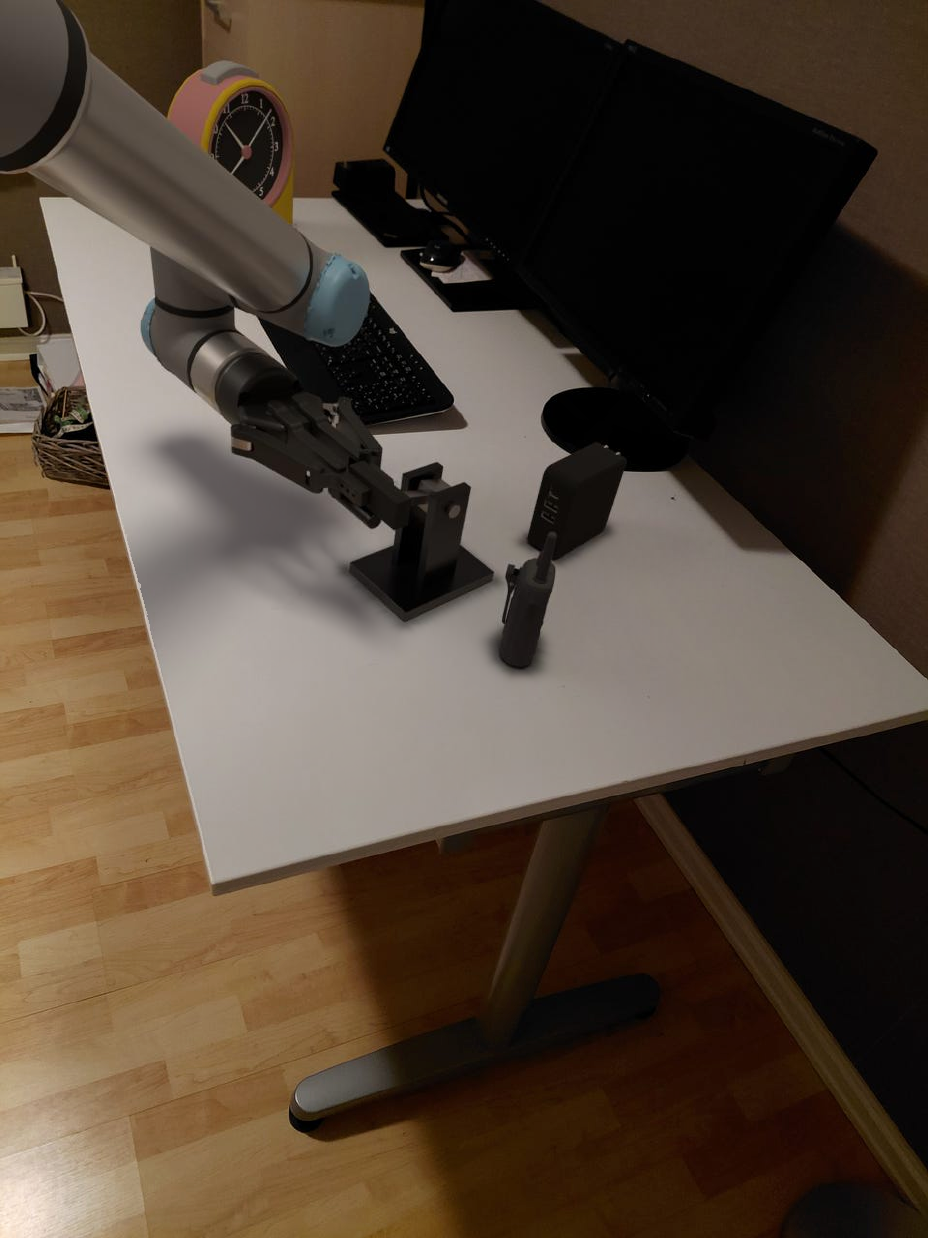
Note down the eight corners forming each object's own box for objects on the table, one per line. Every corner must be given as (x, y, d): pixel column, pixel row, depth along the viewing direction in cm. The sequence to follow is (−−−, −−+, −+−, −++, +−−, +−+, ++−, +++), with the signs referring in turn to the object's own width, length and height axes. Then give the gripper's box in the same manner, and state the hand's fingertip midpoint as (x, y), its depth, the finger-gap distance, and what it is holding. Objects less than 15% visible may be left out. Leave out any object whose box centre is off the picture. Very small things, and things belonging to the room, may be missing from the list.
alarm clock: (208, 258, 140) (200, 73, 123) (169, 240, 143) (156, 58, 126) (294, 234, 154) (297, 66, 137) (257, 219, 157) (255, 52, 140)
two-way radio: (530, 674, 79) (567, 548, 69) (484, 663, 79) (515, 535, 69) (536, 635, 83) (572, 511, 73) (492, 625, 83) (523, 499, 74)
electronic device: (525, 542, 95) (544, 466, 88) (577, 512, 101) (599, 439, 94) (553, 561, 93) (575, 485, 86) (605, 530, 99) (629, 456, 92)
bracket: (404, 622, 82) (418, 523, 74) (348, 571, 86) (357, 473, 78) (492, 580, 89) (514, 486, 81) (437, 535, 93) (452, 442, 85)
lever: (365, 534, 72) (372, 510, 71) (324, 499, 75) (330, 475, 74) (460, 521, 81) (469, 499, 80) (421, 490, 84) (428, 468, 83)
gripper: (305, 408, 87) (454, 527, 76) (188, 438, 80) (335, 576, 69) (307, 339, 82) (467, 455, 71) (183, 365, 75) (340, 499, 64)
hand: (402, 514), depth 70 cm, fingers closed
